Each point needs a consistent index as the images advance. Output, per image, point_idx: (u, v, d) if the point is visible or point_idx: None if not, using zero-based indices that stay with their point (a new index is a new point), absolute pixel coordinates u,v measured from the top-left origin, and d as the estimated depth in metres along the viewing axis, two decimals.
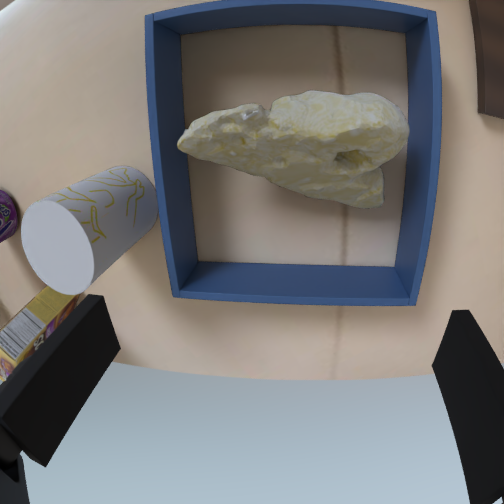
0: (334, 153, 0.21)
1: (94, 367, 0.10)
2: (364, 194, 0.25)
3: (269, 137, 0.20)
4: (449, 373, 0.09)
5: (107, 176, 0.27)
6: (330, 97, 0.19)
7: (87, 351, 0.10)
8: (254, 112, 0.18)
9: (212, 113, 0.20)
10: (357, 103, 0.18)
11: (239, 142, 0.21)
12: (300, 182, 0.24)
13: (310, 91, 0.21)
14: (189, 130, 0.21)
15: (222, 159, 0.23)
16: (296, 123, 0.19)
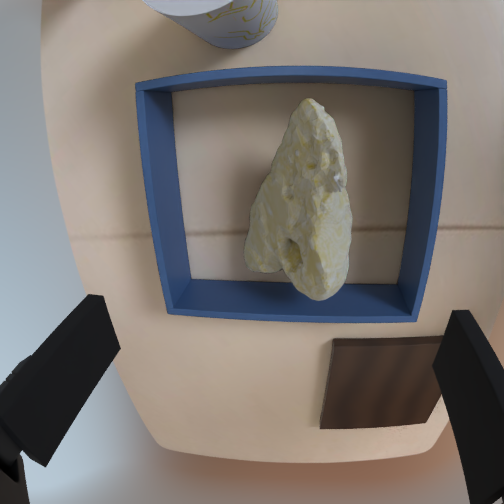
0: (298, 242, 0.25)
1: (94, 367, 0.10)
2: (258, 256, 0.30)
3: (313, 192, 0.22)
4: (448, 373, 0.09)
5: (272, 6, 0.20)
6: (347, 239, 0.25)
7: (87, 351, 0.10)
8: (340, 188, 0.21)
9: (340, 141, 0.21)
10: (342, 264, 0.25)
11: (309, 162, 0.22)
12: (266, 205, 0.27)
13: (351, 218, 0.25)
14: (324, 115, 0.20)
15: (290, 139, 0.23)
16: (326, 217, 0.23)
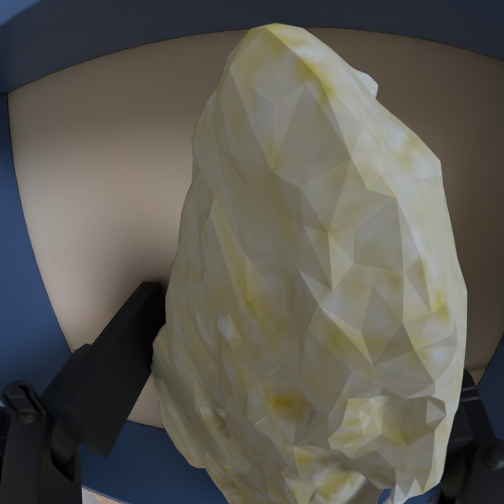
0: (250, 498, 0.08)
1: (150, 354, 0.11)
2: (183, 444, 0.12)
3: (290, 475, 0.05)
4: None
5: None
6: (378, 490, 0.07)
7: (145, 337, 0.11)
8: None
9: (464, 318, 0.03)
10: None
11: (279, 383, 0.04)
12: (172, 395, 0.09)
13: None
14: (389, 135, 0.03)
15: (198, 250, 0.05)
16: None
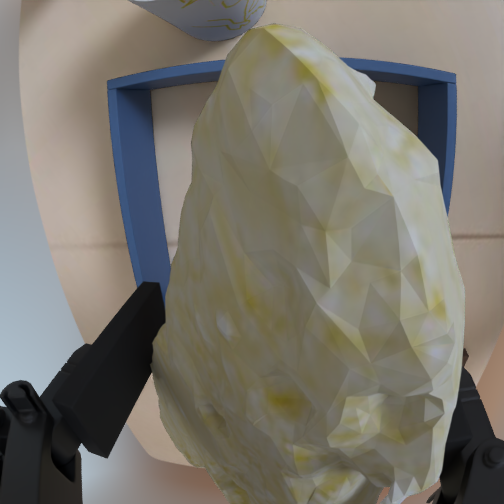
0: (249, 497, 0.08)
1: (151, 354, 0.11)
2: (183, 444, 0.12)
3: (290, 473, 0.05)
4: None
5: None
6: (377, 489, 0.07)
7: (145, 337, 0.11)
8: None
9: (462, 316, 0.03)
10: None
11: (278, 381, 0.04)
12: (172, 394, 0.09)
13: None
14: (386, 134, 0.03)
15: (197, 249, 0.05)
16: None
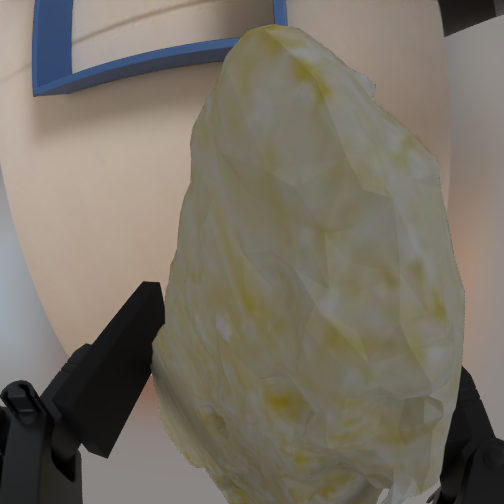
0: (249, 498, 0.08)
1: (151, 354, 0.11)
2: (182, 444, 0.12)
3: (289, 474, 0.05)
4: None
5: None
6: (377, 490, 0.07)
7: (145, 337, 0.11)
8: None
9: (461, 318, 0.03)
10: None
11: (277, 383, 0.04)
12: (172, 395, 0.09)
13: None
14: (386, 136, 0.03)
15: (196, 250, 0.05)
16: None
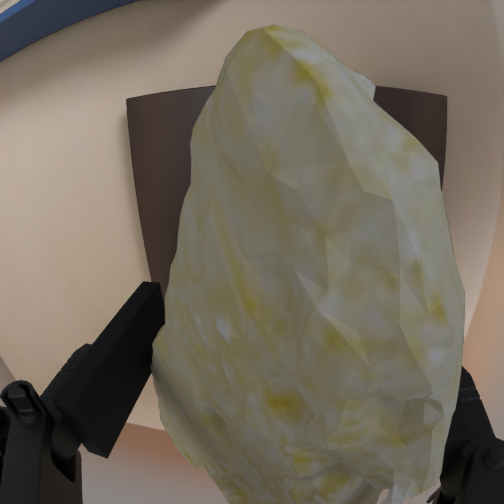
0: (249, 498, 0.08)
1: (150, 354, 0.11)
2: (182, 445, 0.12)
3: (289, 475, 0.05)
4: None
5: None
6: (377, 490, 0.07)
7: (145, 337, 0.11)
8: None
9: (461, 320, 0.03)
10: None
11: (277, 383, 0.04)
12: (172, 395, 0.09)
13: None
14: (386, 137, 0.03)
15: (197, 251, 0.05)
16: None
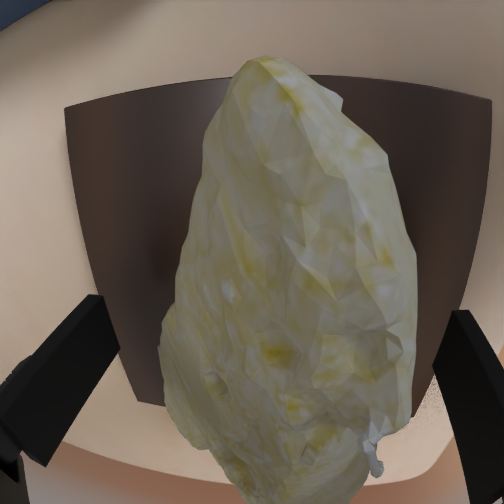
0: (248, 468, 0.09)
1: (94, 367, 0.10)
2: (186, 426, 0.14)
3: (283, 426, 0.06)
4: (449, 373, 0.09)
5: None
6: (368, 461, 0.08)
7: (87, 351, 0.10)
8: (379, 472, 0.04)
9: (413, 274, 0.04)
10: (347, 503, 0.08)
11: (271, 335, 0.06)
12: (178, 370, 0.10)
13: None
14: (344, 137, 0.04)
15: (206, 230, 0.06)
16: (319, 469, 0.06)
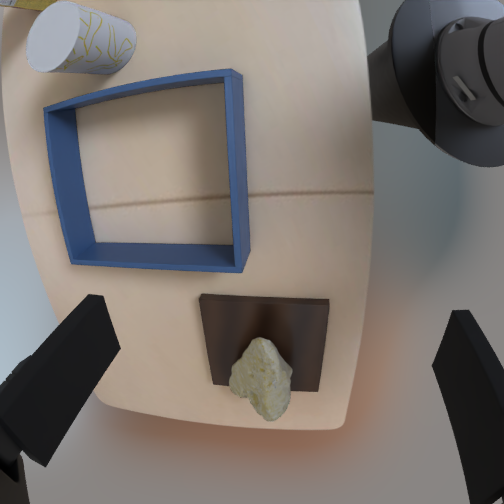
0: (257, 395, 0.42)
1: (94, 367, 0.10)
2: (237, 389, 0.47)
3: (263, 381, 0.39)
4: (449, 373, 0.09)
5: (118, 43, 0.28)
6: (285, 395, 0.42)
7: (87, 351, 0.10)
8: (275, 387, 0.37)
9: (277, 362, 0.37)
10: (281, 407, 0.41)
11: (261, 367, 0.39)
12: (240, 372, 0.44)
13: (289, 382, 0.42)
14: (269, 349, 0.37)
15: (251, 351, 0.40)
16: (270, 391, 0.40)
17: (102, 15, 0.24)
